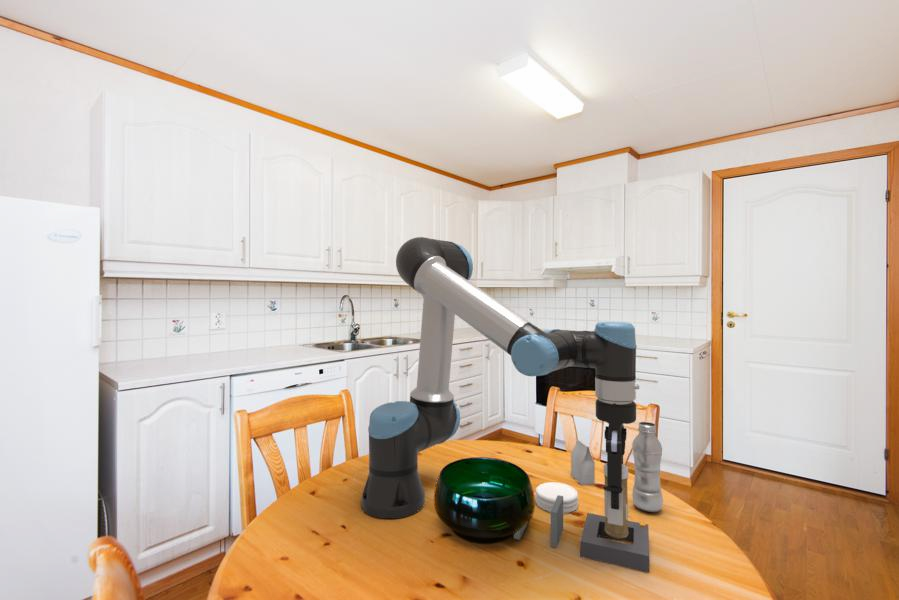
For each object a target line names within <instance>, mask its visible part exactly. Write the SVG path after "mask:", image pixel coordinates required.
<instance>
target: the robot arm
mask: <svg viewBox="0 0 899 600" xmlns="http://www.w3.org/2000/svg"><path fill="white" fill-rule="evenodd" d="M395 267H396V270H397V273H398V275H399V277H400V278H401V279H402V280H403V282H404V283H405V284H407V285H408V286H409V287H410V288H412V289H413V290H415V291H416V292H417V293H419V294H420V295H421V297H422V298H423V302H422V314H421V315H422V316H421V324H420V325H421V326H420V327H421V328H420V338H419V352H418V365H417V377H416V379H417V381H416V387H414V389H412V390H411V392H410V394H409V395H410V396H409V401H407V400H405V401H404V400H403V401H402V400H398V401H397V400H396V401H395V402H391V401H390V402H386V403H384V404H381V405H379V406H377V407H376V408H374V409H373V410H372V411H371V412H370V414H369V423H368V424H369V425H368V430H367V432H368V449H369V450H368V475H367V479H366V481H365V485H364V488H363V491H362V493H361V494H362V495H361V509H362V508H363V509H362V511H363V510H364V511H365V512H366V513H365V512H364V511H363V512H364V513H365V514H367V513H368V514H369V515H368V514H367V515H368V516H371V515H372V516H371V517H373V516H375V517H374V518H377V517H380V518H379V519H384V518H392V519H393V518H394V519H401V518H400V517H402V518H406V517H409V516H408V515H410V514H412V515H414V514H416V513H418V512H419V511H421V510H422V509H423V508H422V507H424V506H425V504H424V503H426V501H425V500H426V494H425V489H424V487H423V486H424V485H423V483H422V480H421V477H420V473H419V470H418V466H419V465H418V464H419V463H418V456H419V455H418V453H420V452H423V451H425V450H427V449H429V448H431V447H435V446H436V445H441V444H443V443H446V441H448V440H449V439H451V438H452V437H453V436H455V434H456V433H457V431H458V430H459V427H460V423H461V414H460V410H459V408H458V407H457V406H458V404H457V403H456V402H455V401H454V399H455V395H454V394H453V393H452V392H451V391H450V377H451V365H452V356H453V355H452V354H453V345H454V344H453V343H454V342H453V341H454V330H455V329H454V328H455V319H456V318H455V316H457V317H458V318H459V319H460V320H462V321H463V322H465V323H466V324H468V325H469V326H471V327H472V328H473V329H475V330H476V331H477V332H478V333H480V334H481V335H483V336H484V337H486V339H488V340H489V341H490V342H492V343H493V344H495V345H496V346H497V347H498V348H500V349H502V350H503V351H504V352H505V353H507V354H508V355H509V356H510V359H511V362H512V364H513V366H514V367H515V369H516V370H517V372H519V373H520V374H521V375H524V376H525V377H539V376H540V377H541V376H547V375H549V374H550V373H552V372H555V371H558V370H562V369H564V368H568V367H574V368H575V367H578V368H588V369H594V370H595V377H594V383H595V384H594V388H595V389H594V390H595V392H594V393H595V394H594V395H595V397H596V398H597V399H596V400H595V417H596V419H597V420H599V421H600V422H603V423H607V424H608V426H605V427H604V428H605V429H604V439H605V452H606V457H607V458H606V460H607V462H606V463H607V486H605V485H604V486H603V491H604V490H608V523H610V524H615V525H620V526H623V488H622V464H624V455H625V453H626V451H625V450H626V441H627V428H625V426H624V425H625V424H626V425H631V424H633V423H635V422H636V421H637V403H635V400H636V399H637V395H636V394H637V392H636V391H637V390H640V385H639V384H638V383H637V384H636V382H637V381H636V378H637V377H636V374H637V371H636V370H637V369H636V367H637V365H636V364H637V362H636V361H637V347H638V346H637V342H636V340H637V339H636V328H635V325H633V324H632V323H630V322H627V321H625V322H622V321H599V322H597V323H596V324H595V328H594V330H589V331H584V330H583V331H582V330H570V329H568V330H566V329H565V330H564V329H560V328H559V329H545V330H542V329H540V328H539V327H537V326H536V325H534V324H532V323H531V322H530V321H529V320H527V319H526V318H525V317H523V316H522V315H520V314H519V313H517V312H515V311H514V310H513V309H511V308H510V307H508V306H506V305H505V304H504V303H502V302H500V301H499V300H498V299H496V298H495V297H493V296H492V295H490V294H489V293H488V292H486V291H485V290H483V289H481V288H480V287H478V286H477V285H475V284H474V283H473V282H472V281H470V279H471V277H472V275H473V270H474V263H473V258H472V256H471V254H470V252H468V249H466V247H464V246H462V245H461V244H459V243H456V242H453V241H448V240H443V239H442V240H440V239H435V238H429V237H423V236H419V237H417V236H416V237H414V238H410V239H409V240H407V241H406V242H404V243H403V244H402V245H401V246H400V248H399V250H397V255H396V257H395ZM423 505H424V506H423ZM421 508H422V509H421ZM420 509H421V510H420ZM418 510H419V511H418ZM417 511H418V512H417ZM415 512H416V513H415ZM413 513H414V514H413ZM405 516H406V517H405ZM410 516H411V515H410ZM392 519H391V520H392Z"/></svg>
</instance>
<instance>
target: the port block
mask: <svg viewBox="0 0 899 600" xmlns="http://www.w3.org/2000/svg"><path fill="white" fill-rule="evenodd" d="M604 529H605V515H602V514H601V515H600V514H595V513H589V512H587V513H586V518H585V521H584V525H583V530H582V534H581V538H580V541H579V542H580V548H579V549H580V558H585V559H588V560H593V561H597V562H602V563H605V564H609V565H614V566H617V567H618V566H619V567H623V568H626V569H631V570H636V571H639V572H644V573H647V574H648V573H649V574H650V535H649V534H650V531H649V524H647V523H645V522H638V521H637V522H636V521H632V520H628V532H629V534H628V536H627V537H626V538H621V539H619V538H614V537H611V536H609V535H608V534H607V533H606V532H605V530H604ZM601 537H602V538H601ZM603 537H604V538H603ZM606 538H609V539H606ZM612 539H614V540H612ZM616 540H618V541H616ZM621 541H624V542H621ZM625 542H629V543H633V544H629V543H625Z"/></svg>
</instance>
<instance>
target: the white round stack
mask: <svg viewBox="0 0 899 600" xmlns="http://www.w3.org/2000/svg"><path fill="white" fill-rule="evenodd" d="M558 495H560V496H563V515H564V514H570V513H573V512H575V511H576V510H577V509H578V507H579V493H578V491H577V489H576V488H574V487H572V486H571V485H569V484H566V483H563V482H555V481H554V482H552V481H551V482H550V481H549V482H543V483H541V484H539V485H538V486H536V487H535V504H536V505H537V507H538V508H540V509H541V508H542V509H541V510H543V509H544V510H543V511H545V510H546V512H548V513H551V510H552V507H553V505H554V503H555V500H556V498H557V496H558Z"/></svg>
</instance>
